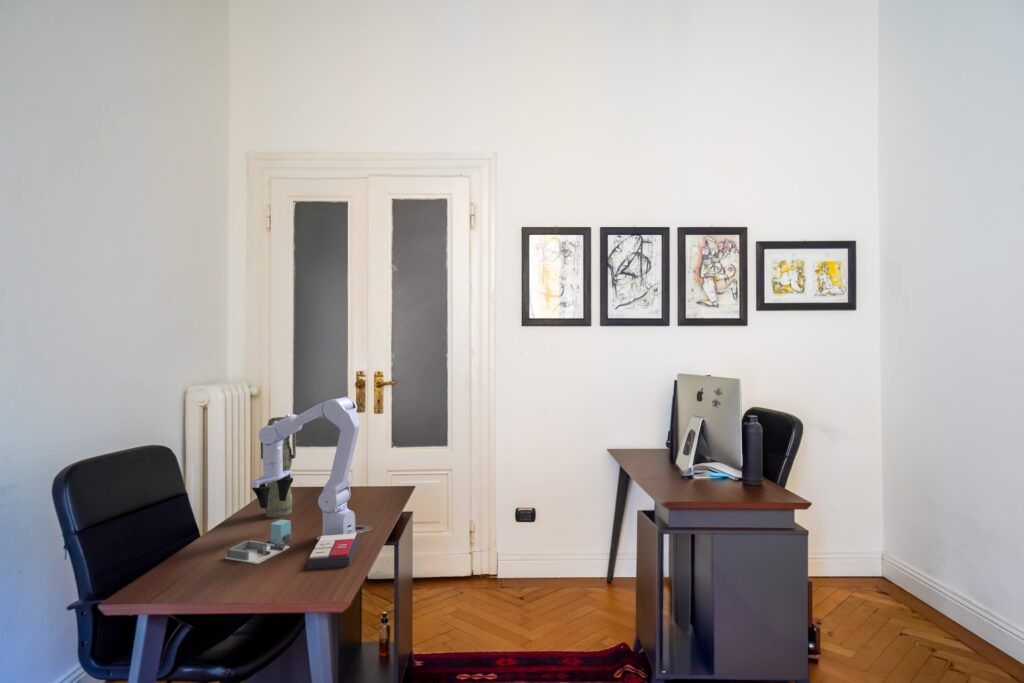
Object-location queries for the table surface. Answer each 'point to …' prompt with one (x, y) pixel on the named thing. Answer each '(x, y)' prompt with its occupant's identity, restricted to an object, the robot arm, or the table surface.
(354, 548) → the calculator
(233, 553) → the end holder
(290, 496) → the thermos
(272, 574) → the table surface
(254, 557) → the board
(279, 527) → the pale blue cube
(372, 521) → the table surface
